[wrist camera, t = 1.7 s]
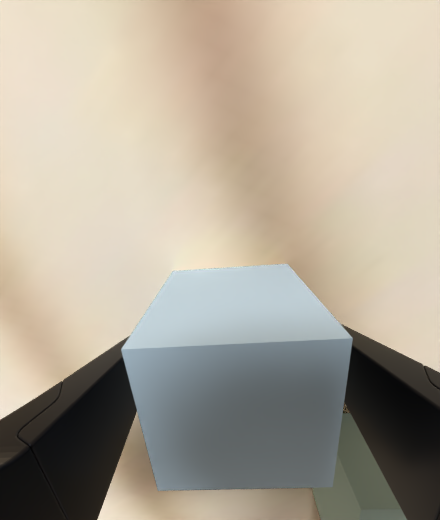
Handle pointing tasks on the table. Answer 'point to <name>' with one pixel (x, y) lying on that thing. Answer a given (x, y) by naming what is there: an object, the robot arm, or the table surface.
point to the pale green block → (356, 483)
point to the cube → (239, 381)
